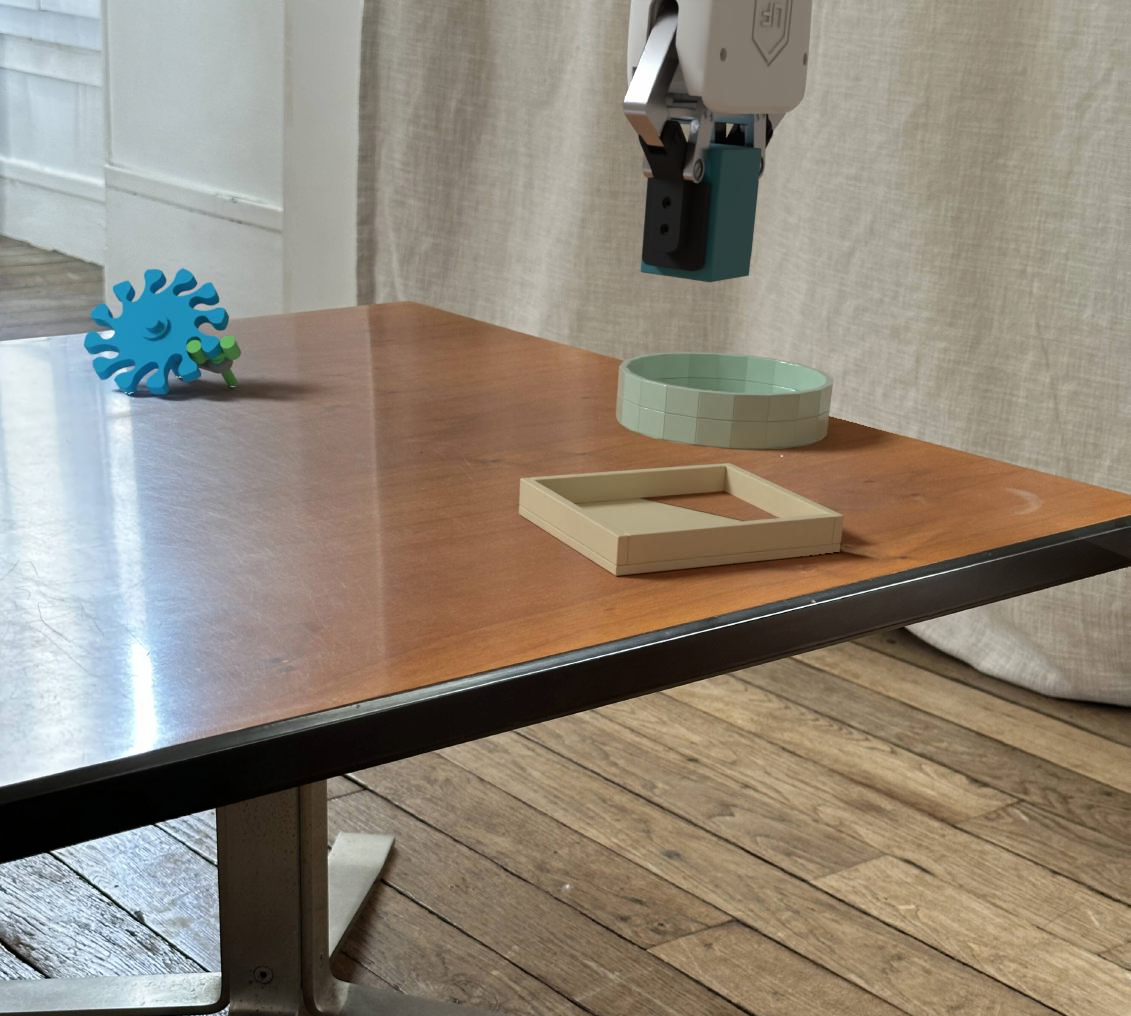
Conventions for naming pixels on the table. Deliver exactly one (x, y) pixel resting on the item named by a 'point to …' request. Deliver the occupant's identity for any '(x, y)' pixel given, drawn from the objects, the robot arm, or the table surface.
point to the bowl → (723, 400)
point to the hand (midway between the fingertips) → (697, 259)
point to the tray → (675, 518)
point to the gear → (162, 334)
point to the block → (726, 215)
